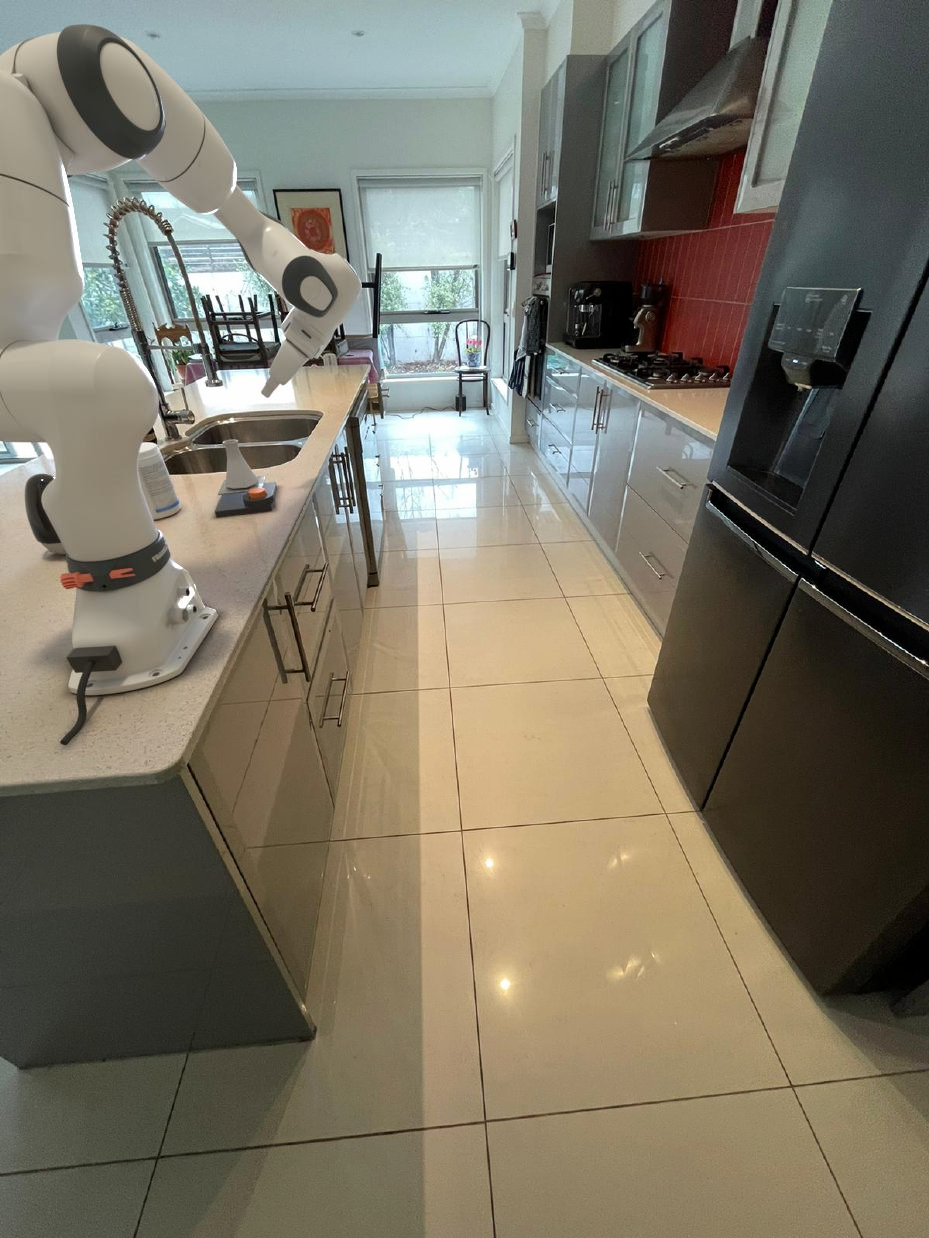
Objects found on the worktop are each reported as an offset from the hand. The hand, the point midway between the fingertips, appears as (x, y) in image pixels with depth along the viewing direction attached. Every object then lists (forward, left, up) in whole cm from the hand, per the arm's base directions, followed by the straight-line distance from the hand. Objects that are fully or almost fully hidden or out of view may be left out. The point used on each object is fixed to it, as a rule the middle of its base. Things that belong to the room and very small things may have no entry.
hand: (266, 391), depth 110 cm
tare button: (-5, +6, -21) cm, 23 cm away
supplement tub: (-1, +29, -24) cm, 38 cm away
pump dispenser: (-16, +41, -24) cm, 50 cm away
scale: (0, +10, -24) cm, 26 cm away
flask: (+3, +11, -20) cm, 23 cm away
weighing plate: (+3, +11, -21) cm, 23 cm away
